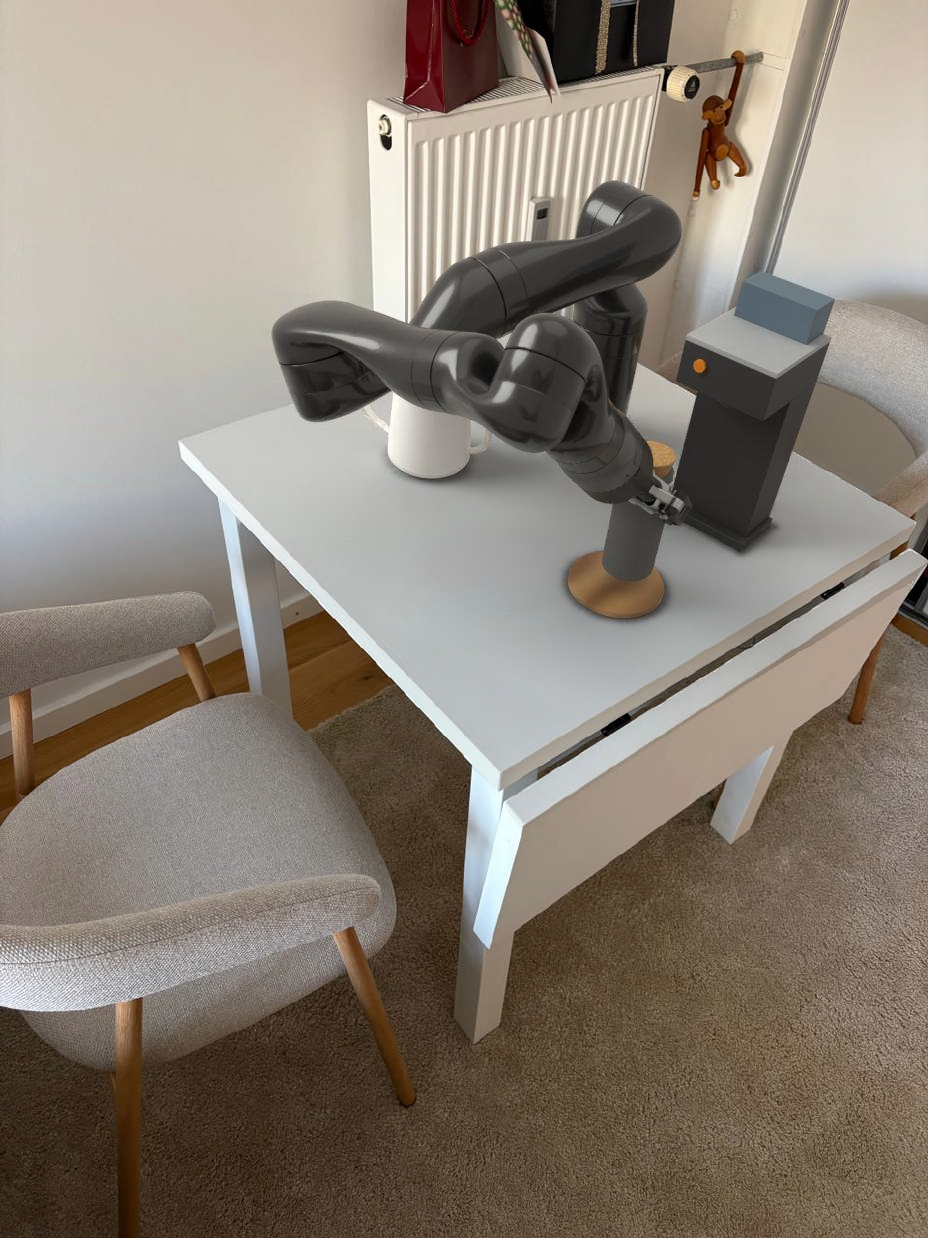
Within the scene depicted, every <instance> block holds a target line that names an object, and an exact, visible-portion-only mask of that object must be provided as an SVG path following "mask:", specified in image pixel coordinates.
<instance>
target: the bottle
mask: <svg viewBox="0 0 928 1238" xmlns="http://www.w3.org/2000/svg"><path fill="white" fill-rule="evenodd" d="M646 442H647V443H648V445H649V446H650V448H651V451H652V454H653V470H654V471H655V475H657V476H658V477H659V478H660V479H662V480H663V481H664V482H665V483H667V484H668V485H669V492H670V493H671V494H672V487H671V486H670V484H672V482H673V481H674V475H675V469H674V467H673V466H674V464H675V462H676V461H677V454H676V453H675V451H674V450H673V449H672V448H671V447H670V446H669V445H667V444H664V443H662V442H659V441H656V440H655V441H654V440H646ZM641 501H642V500H641ZM642 502H643V503H644V502H645V501H642ZM662 504H663V503H662V502H661V503H660V504H659V509H660V507H661V506H662ZM665 526H666V523H665V522H664V521H663V520H662V519H660V518H659V516H658V515H656V514H655V513H654V514H650V513H647V512H645V511H643V510H642V509H640V508H639V507H637V506H636V505H635V504H632V503H630V502H627V501H625V502H622V503H618V504H612V508H611V513H610V517H609V523H608V527H607V532H606V537H605V541H604V547H603V550H602V551H603V556H602V565H603V567H604V569H605V570H606V571H607V572H608V573H609V574H610V575H612V576H613V577H615V578H618V579H621V580H625V581H639V580H643V579H645V578H647V577H648V576H649V575H650V574H651V573H652V570H653V567H654V568H655V564H656V560H657V555H658V552H659V549H660V545H661V541H662V537H663V536H662V535H663V533H664V530H665Z"/></svg>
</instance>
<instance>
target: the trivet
mask: <svg viewBox="0 0 928 1238" xmlns="http://www.w3.org/2000/svg"><path fill="white" fill-rule="evenodd" d="M603 551H604V550H598V551H596V550H595V551H592V552H589V553H585V554H583V555H582V556H580V557H578V558H577V559H576V560H575V561H574V562H573V563H572V565H571V566H570V569H569V571H568V576H567V584H568V588H569V591H570V593H571V595H572V596H573V597H574V599H575V600H576V601H577V602H578V603H579V604H581V605H582V606H583V607H585V608H586V609H587V610H590V611H592V612H594V613H596V614H598V615H601V616H605V617H609V618H613V619H633V618H639V617H642V616H643V617H644V616H645V615H648V614H650V613H651V612H653V611H654V610H655V609H657V607H659V605H660V603H662V601H663V596H664V594H665V583H664V579H663V577H662V576H661V574H660V572H659V571H658V570H657V569H656V568H655V566H654V567H653V570H652V573H651V574H650V575H649V576H648V577H647V578H645V579H643V580H639V581H625V580H621V579H618V578H615V577H613V576H612V575H610V574H609V573H608V572H607V571H606V570H605V569H604V567H603V565H602V556H603Z"/></svg>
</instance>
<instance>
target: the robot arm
mask: <svg viewBox="0 0 928 1238" xmlns="http://www.w3.org/2000/svg"><path fill="white" fill-rule="evenodd" d="M682 236H683V225H682V219H681V218H680V216H679V214H678V212H677V211H676V210H675V209H674V207H672V206H671V205H670V204H669V203H667V202H666V201H664V200H662V199H661V198H660V197H657V196H655V195H653V194H652V193H651V194H650V193H648V192H647V191H644V190H642V189H640V188H638V187H636V186H634V185H632V184H630V183H627V182H625V181H622V180H618V179H613V180H607V181H604V182H602V183H601V184H599V185H598V186H596V187H595V189H593V190H592V191H591V193H590V194H589V196H588V197H587V198H586V200H585V202H584V204H583V206H582V209H581V210H580V213H579V217H578V221H577V225H576V231H575V238H571V239H570V238H569V239H544V240H543V239H541V240H526V241H525V240H523V241H521V240H520V241H513V242H512V241H511V242H506V243H503V244H498V245H495V246H491V247H489V248H487V249H484V250H482V251H480V252H477V253H474V254H471V255H469V256H467V257H465V258H463V259H461V260H458V261H456V262H454V263H453V264H451V265H450V266H448V267H447V268H446V269H445V270H444V271H443V272H442V273H441V274H440V276H439V277H438V278H437V279H436V280H435V282H434V283H433V285H432V286H431V287H430V289H429V290H428V292H427V293H426V295H425V296H424V298H423V300H422V301H421V303H420V305H419V306H418V308H417V309H416V311H415V313H414V315H413V316H412V318H411V319H410V321H409V322H406V321H403V320H401V319H400V320H399V319H397V318H395V317H392V316H389V315H387V314H385V313H382V312H379V311H376V310H373V309H369V308H367V307H365V306H361V305H359V304H355V303H352V302H348V301H342V300H334V299H333V300H331V299H330V300H329V299H328V300H318V301H314V302H310V303H306V304H303V305H299V306H298V307H295V308H293V309H291V310H288V311H287V312H286V313H284V314H282V315H280V317H278V319H276V321H275V322H274V323H273V325H272V327H271V342H272V346H273V349H274V350H273V351H274V353H275V356H276V359H277V361H278V364H279V367H280V370H281V373H282V375H283V379H284V382H285V384H286V387H287V389H288V393H289V396H290V399H291V401H292V403H293V405H294V408H295V411H296V413H297V414H298V415H299V417H300V418H301V419H303V420H304V421H307V422H309V423H325V422H329V421H333V420H337V419H340V418H343V417H345V416H348V415H350V414H353V413H355V412H357V411H360V410H359V409H361V408H363V407H365V406H367V405H369V406H370V404H372V403H374V402H376V401H378V400H380V399H382V398H383V397H385V396H386V395H388V394H390V393H393V392H394V393H395V394H397V395H398V396H400V397H401V398H403V399H404V400H406V401H407V402H409V403H411V404H413V405H415V406H417V407H420V408H423V409H426V410H430V411H435V412H440V413H446V414H451V415H457V416H462V417H465V418H468V419H470V420H471V421H473V422H475V423H476V424H478V425H480V426H482V427H483V428H484V429H485V430H486V429H487V430H488V431H490V432H491V433H492V435H493V436H494V437H496V438H498V439H499V440H500V441H502V442H503V443H505V444H507V445H508V446H511V447H512V448H514V449H516V450H519V451H522V452H525V453H531V454H538V453H544V452H545V453H546V454H547V455H548V456H549V457H550V458H552V459H553V461H554V462H556V463H557V465H558V466H559V467H560V469H561V471H562V472H563V473H564V474H565V475H566V476H567V477H568V478H569V479H570V480H571V481H572V482H573V483H575V485H577V486H578V487H579V488H580V489H581V490H582V491H583V492H584V493H585V494H586V495H588V496H589V497H590V498H591V499H593V500H594V501H597V502H599V503H602V504H607V505H613V504H618V503H622V502H625V501H627V502H630V503H632V504H635V505H636V506H637V507H639V508H640V509H642V510H643V511H645V512H647V513H650V514H654V513H655V514H656V515H658V516H659V518H660V519H662V520H663V521H664V522H665V525H668V526H669V527H671V526H674V527H681V526H682V524H683V522H684V521H683V520H684V518H685V517H686V515H687V513H688V512H689V510H691V508H692V504H691V501H690V499H689V497H688V495H687V494H685V493H686V492H684V491H682V490H681V491H680V490H677V491H676V490H674V491H673V493H672V494H671V493H670V492H669V486H670V484H669V485H668V484H667V483H665V482H664V481H663V480H662V479H660V478H659V477H658V476H657V475H655V471H654V470H653V454H652V451H651V448H650V446H649V445H648V443H647V442H646V441H647V440H646V439H645V438H644V437H643V435H642V434H641V433H640V432H639V429H637V427H636V426H635V425H634V423H633V422H632V421H631V420H630V418H629V417H628V410H629V406H630V401H631V396H632V390H633V388H634V387H633V385H634V381H635V378H636V377H635V376H636V372H637V367H638V361H639V357H640V352H641V347H642V341H643V337H644V332H645V328H646V322H647V318H648V311H649V304H648V300H647V298H646V296H645V295H644V293H643V292H642V291H641V289H640V288H639V287H638V284H637V283H639V282H641V281H643V280H646V279H648V278H651V276H653V275H655V274H656V273H658V272H659V271H661V270H662V269H663V268H664V267H665V266H666V265H667V264H668V263H669V262H670V260H671V259H673V257H674V255H675V253H676V252H677V251H678V248H679V246H680V243H681V241H682V238H683V237H682ZM571 306H573V310H572V318H569V317H566V316H564V315H561V314H558V313H557V312H559V311H561V310H564V309H567V308H569V307H571ZM508 335H510V336H509V338H508V339H507V342H506V345H505V347H504V346H503V343H501V342H500V341H499V340H500V339H502V338H504V337H507V336H508ZM641 500H642V501H645V502H644V503H643V502H642V501H641ZM661 502H662V503H663V504H662V506H661V507H660V509H659V504H660V503H661Z"/></svg>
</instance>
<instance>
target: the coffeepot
mask: <svg viewBox="0 0 928 1238" xmlns="http://www.w3.org/2000/svg"><path fill="white" fill-rule="evenodd" d="M358 411H359V412H360V413H361V414H362V415H363V416H364V417H365V418H366V419H367V420H369V421H370V422H371V423H372V424H373V425H375V426H376V427H377V428H379V429H381V430H382V431H384V432H385V433H386V434H387V436H388V437H387V455H388V458H389V460H390V462H391V463H392V464H393V466H395V467H396V468H397V469H398V470H400V471H401V472H402V473H405V474H407V475H409V476H413V477H417V478H419V479H420V478H421V479H442V478H446V477H449V476H453V475H455V474H457V473H458V472H460V471H461V470H463V469H464V468H465V467H466V466H467V465H468V463H469V461H470V458H471V455H478V454H481V453H482V452H484V451H485V450H486V449H488V447H489V445H490V443H491V441H492V436H493V434H492V433H491V432H490V431H488V430H487V429H486V428H485V433H484V437H483V440H482V442H481V443H480V444H479V445H478V446H471V443H472V442H471V440H472V439H471V435H472V434H471V421H472V420H470V419H468V418H465V417H462V416H457V415H451V414H446V413H440V412H435V411H430V410H426V409H423V408H420V407H417V406H415V405H413V404H411V403H409V402H407V401H406V400H404V399H403V398H401V397H400V396H398V395H397V394H395V393H394V392H393V391H392V402H391V411H390V412H391V413H390V421H389V425H388V424H387V423H386V421H384V420H382V419H381V417H379V416H378V415H377V414H376V413H375V412H374V410H373V409H372V408H371V406H370V404H369V405H367V406H365V407H363V408H361V409H359V410H358Z"/></svg>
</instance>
